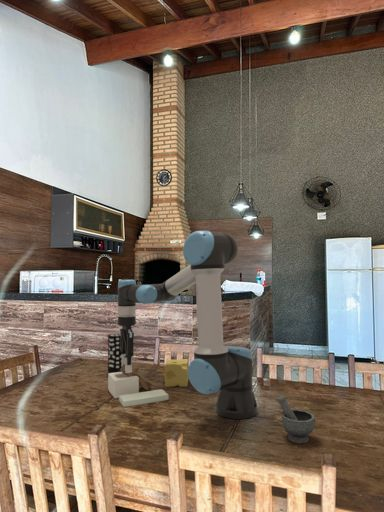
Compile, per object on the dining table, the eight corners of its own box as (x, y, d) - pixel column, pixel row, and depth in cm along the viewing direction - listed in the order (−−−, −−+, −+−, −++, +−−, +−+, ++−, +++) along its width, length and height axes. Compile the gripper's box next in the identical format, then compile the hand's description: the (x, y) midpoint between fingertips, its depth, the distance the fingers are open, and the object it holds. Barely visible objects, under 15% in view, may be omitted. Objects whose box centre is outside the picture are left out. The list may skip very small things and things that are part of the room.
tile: (144, 387, 161) (148, 381, 161) (147, 390, 156) (151, 384, 157) (119, 369, 156) (123, 363, 157) (122, 372, 152) (126, 366, 153)
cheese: (188, 387, 161) (187, 364, 161) (163, 387, 161) (163, 364, 161) (188, 380, 171) (188, 358, 171) (165, 380, 171) (165, 358, 172)
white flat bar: (168, 399, 145) (168, 394, 145) (123, 407, 137) (123, 401, 137) (161, 394, 152) (161, 389, 152) (119, 400, 144) (119, 395, 144)
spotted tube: (107, 374, 180) (107, 334, 181) (124, 373, 183) (124, 333, 184) (108, 379, 172) (108, 336, 173) (126, 377, 175) (126, 335, 176)
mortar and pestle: (317, 435, 113) (317, 396, 113) (312, 448, 104) (311, 406, 105) (281, 428, 118) (281, 390, 119) (273, 440, 110) (272, 399, 110)
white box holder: (130, 386, 162) (130, 370, 162) (138, 394, 151) (138, 377, 151) (108, 389, 157) (108, 373, 158) (114, 398, 147) (114, 380, 147)
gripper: (141, 317, 149) (141, 375, 148) (129, 313, 166) (129, 365, 165) (123, 318, 146) (123, 377, 145) (113, 314, 163) (113, 366, 162)
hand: (126, 370), depth 155 cm, fingers closed on tile, 5 cm apart
